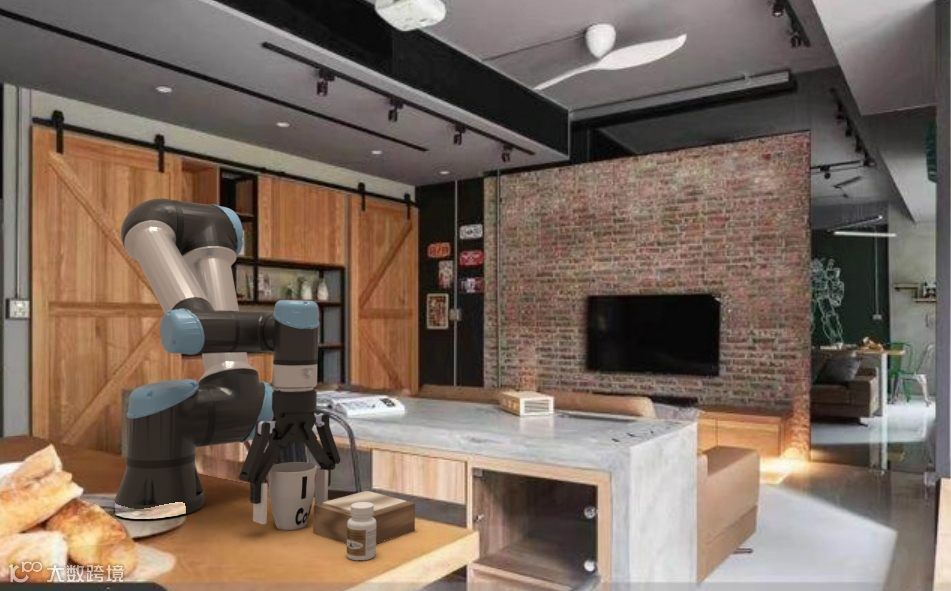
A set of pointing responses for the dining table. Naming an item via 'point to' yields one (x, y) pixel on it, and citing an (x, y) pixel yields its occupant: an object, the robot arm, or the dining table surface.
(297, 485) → the cup
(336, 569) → the dining table surface
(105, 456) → the dining table surface
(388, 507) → the pedestal
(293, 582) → the dining table surface
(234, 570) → the dining table surface
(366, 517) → the pill bottle
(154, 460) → the robot arm
